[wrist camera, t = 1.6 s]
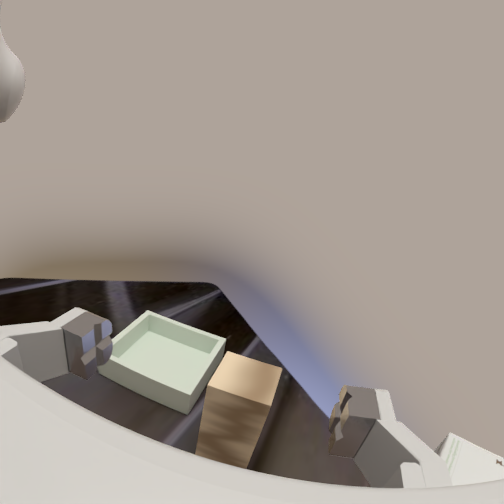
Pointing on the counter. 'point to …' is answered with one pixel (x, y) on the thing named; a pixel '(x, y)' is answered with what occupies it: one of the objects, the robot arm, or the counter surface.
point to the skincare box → (469, 461)
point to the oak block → (236, 409)
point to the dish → (164, 360)
